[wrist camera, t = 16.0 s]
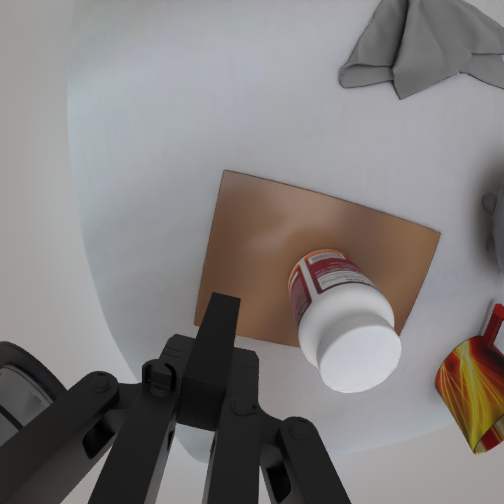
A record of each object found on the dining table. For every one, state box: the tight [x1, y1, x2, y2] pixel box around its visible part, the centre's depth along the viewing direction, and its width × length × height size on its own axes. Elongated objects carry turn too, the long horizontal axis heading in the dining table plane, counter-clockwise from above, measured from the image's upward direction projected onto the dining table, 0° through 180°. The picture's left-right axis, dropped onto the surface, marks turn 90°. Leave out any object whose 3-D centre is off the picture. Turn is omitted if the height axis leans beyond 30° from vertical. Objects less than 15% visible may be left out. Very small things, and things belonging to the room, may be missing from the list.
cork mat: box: [194, 170, 441, 348], centre depth 24 cm, size 20×14×1 cm
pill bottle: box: [288, 249, 402, 393], centre depth 19 cm, size 6×6×11 cm
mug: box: [435, 304, 504, 455], centre depth 22 cm, size 10×14×12 cm
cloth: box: [340, 0, 504, 99], centre depth 16 cm, size 26×14×2 cm, turn 107°
